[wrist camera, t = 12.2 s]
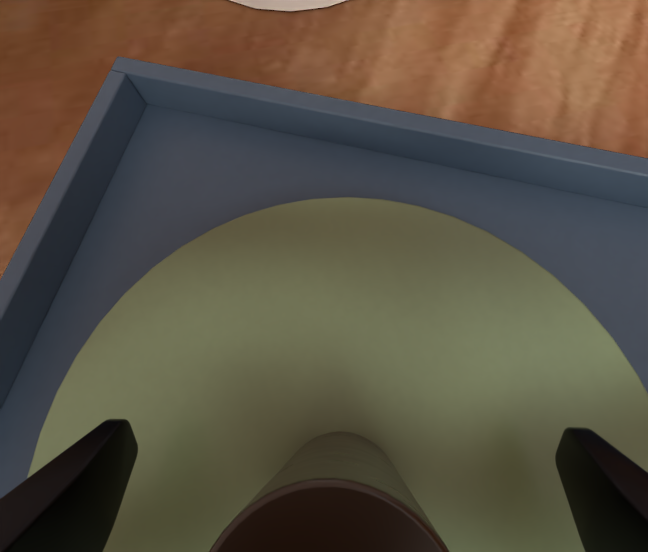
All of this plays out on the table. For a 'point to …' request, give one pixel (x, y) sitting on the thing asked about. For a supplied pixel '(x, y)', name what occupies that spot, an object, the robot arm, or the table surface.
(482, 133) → the tray
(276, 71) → the table surface
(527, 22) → the table surface
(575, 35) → the table surface
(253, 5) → the decorative container
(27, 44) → the table surface
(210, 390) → the basket lid
